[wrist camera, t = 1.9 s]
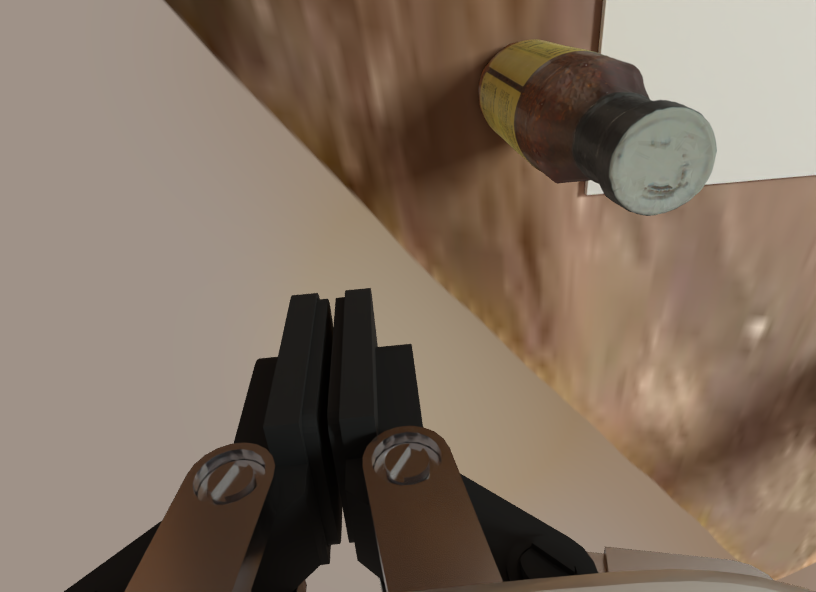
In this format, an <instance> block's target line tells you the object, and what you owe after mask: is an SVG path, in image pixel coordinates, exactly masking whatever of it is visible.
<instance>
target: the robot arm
mask: <svg viewBox="0 0 816 592" xmlns="http://www.w3.org/2000/svg"><path fill="white" fill-rule="evenodd" d="M374 320H375V319H374V312H373V302H372V294H371V288H366V289H356V290H346V291H345V297H342V298H336V303H335V316H334V328H333V322H332V316H331V309H330V303H329V300H328V299H320V298H319V295H318V293H313V294H303V295H292V296H291V300H290V304H289V308H288V313H287V318H286V322H285V327H284V332H283V336H282V341H281V346H280V350H279V355H278V357H271V358H262V359H258V360H257V361H256V364H255V367H254V371H253V374H252V378H251V381H250V385H249V389H248V392H247V396H246V400H245V403H244V407H243V411H242V415H241V418H240V422H239V426H238V429H237V433H236V437H235V441H234V444H229V445H226V446H223V447H220V448H217V449H215V450H214V451H212V452H210V453H208V454H206V455H205V456H204V457H202V458H201V459H200V460H199V461H198V462H196V463H195V464H194V465H193V467H192V468H191V470H190V471H189V472H188V474H187V475H186V477H185V479H184V481H183V483H182V484H181V486H180V488H179V490H178V492H177V494H176V496H175V498H174V499H173V501H172V503H171V505H170V507H169V509H168V511H167V513H166V515H165V516H164V518H163V520H162V521H161V522H159V523H158V524H157V525H155V526H154V527H152V528H151V529H150V530H148V531H147V532H146V533H144V534H143V535H142V536H140V537H139V538H137V539H136V540H135V541H133V542H132V543H130V544H129V545H128V546H126V547H125V548H123V549H122V550H121V551H119V552H118V553H117V554H115V555H114V556H112V557H111V558H110V559H108V560H107V561H106V562H104V563H103V564H101V565H100V566H99V567H97V568H96V569H94V570H93V571H92V572H91V573H89V574H88V575H86V576H85V577H83V578H82V579H81V580H79V581H78V582H77V583H75V584H74V585H73V586H71V587H70V588H68V589H67V590H66V591H64V592H306V587H307V584H306V581H305V579H306V578H307V577H308V576H309V575H310V574H311V573H313V572H314V571H315V570H316V569H317V568H318V566H320V565H324V564H329V563H330V549H331V545H333V544H340V543H341V530H342V507H343V512H344V518H345V523H346V528H347V534H348V539H349V542H350V543H352V542H354V543H355V548H356V554H357V559H358V561H359V562H360V563H362V564H363V565H364V566H365V567H367V568H368V569H369V570H370V571H372V572H373V573H374V574H375V575H377V576H378V577H379V578H380V585H381V590H382V592H815V591H812V590H809V589H806V588H803V587H799V586H795V585H791V584H787V583H783V582H779V581H775V580H773V579H772V578H771V577H770V576H769V575H767V574H766V573H764V572H762V571H760V570H758V569H756V568H755V567H753V566H751V565H749V564H745V563H741V562H737V561H733V560H727V559H716V558H708V557H698V556H689V555H679V554H669V553H660V552H651V551H640V550H632V549H621V548H612V547H605V550H604V554H602V553H592V552H586V551H585V549H584V548H583V547H581V546H580V545H579V544H578V543H576V542H575V541H574V540H572V539H571V538H569V537H568V536H566V535H564V534H563V533H561V532H559V531H557V530H556V529H554V528H552V527H551V526H549V525H547V524H545V523H544V522H542V521H540V520H539V519H537V518H535V517H533V516H532V515H530V514H528V513H527V512H525V511H523V510H522V509H520V508H518V507H516V506H515V505H513V504H511V503H510V502H508V501H506V500H504V499H503V498H501V497H499V496H497V495H496V494H494V493H492V492H491V491H489V490H487V489H486V488H484V487H482V486H481V485H479V484H477V483H475V482H474V481H472V480H470V479H469V478H467V477H465V476H463V475H462V474H460V473H459V470H458V468H457V465H456V463H455V460H454V458H453V455H452V453H451V450H450V448H449V446H448V445H447V443H446V442H445V440H444V439H443V438H442V437H441V436H439V435H438V434H437V433H436V432H434V431H431V430H429V429H426V428H424V427H423V424H422V417H421V409H420V402H419V395H418V387H417V380H416V374H415V366H414V358H413V351H412V345H411V344H405V345H395V346H385V347H378V346H377V337H376V329H375V321H374Z"/></svg>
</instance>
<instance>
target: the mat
mask: <svg viewBox="0 0 816 592" xmlns="http://www.w3.org/2000/svg"><path fill="white" fill-rule="evenodd" d="M598 53H600V54H602V55H605V56H606V55H607V56H609V57H611V58H615V59H617V60H620V61H623V62H627V63H630V64H633V65H634V66H636V67H637V68H638V69H639V70H640V72H641V74H642V76H643V81H644V86H645V89H646V92H647V94H648V96H649V98H650V100H652V101H656V100H668V101H672V102H677V103H679V104H682V105H685V106H687V107H689V108H692V109H693V110H695V111H698V112H700V113H701V114H702V115H703V116H704V118H705V119H706V120H707V121H708V122H709V123H710V125H711V127H712V129H713V132H714V135H715V139H716V147H717V152H716V157H715V162H714V166H713V170H712V173H711V175H710V177H709V179H708V181H707V182H706V184H705V185H707V184H719V183H730V182H741V181H753V180H764V179H775V178H787V177H798V176H809V175H816V0H603V8H602V18H601V28H600V38H599V49H598ZM585 194H586V195H594V194H604V193H603V191H602V189H601V187H600V185H599V184H598V183H595V182H593V181H592V180H589V181H586V182H585Z"/></svg>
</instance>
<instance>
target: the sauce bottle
mask: <svg viewBox="0 0 816 592" xmlns="http://www.w3.org/2000/svg"><path fill="white" fill-rule="evenodd" d="M478 91H479V103H480V105H479V106H480V109H481V112H482V114H483V115H484V117H485V119H486V121H487V122H488V124H489V125H490V127H491V128H492V129H493V130H494V131H495V132H496V133H497V134H498V135H499V136H500V137H502V138H503V139H504V140H505V141H506V142H507V143H508V144H509V145H510V146H511V147H512V148H513V149H514V150H515V151H516V152H518V153H519V154H520V155H521V156H522V157H523V158H524V159H526V160H527V161H528V162H529V163H530V164H531V165H532V166H533V167H535V168H536V169H538V170H539V171H541V172H543V173H544V174H545V175H546V176H548V177H549V178H550V179H551V180H553V181H554V182H555V183H565V182H577V181H589V180H592V181H593V182H595V183H598V184H599V185H600V187H601V189H602V191H603V193H604V194H605V196H606V197H608V198H609V199H610V200H611V201H613V202H615V203H616V204H618V205H620V206H621V207H623V208H624V209H626V210H628V211H629V212H634V213H636V214H640V215H646V216H651V215H657V214H661V213H666V212H668V211H671V210H673V209H676V208H678V207H679V206H681V205H683V204H685V203H686V202H688V201H690V200H691V199H692V198H693V197H694V196H695V195H696V194H697V193H698V192H700V190H701V189H702V188H703V186H704V185H705V184H706V182H707V181H708V179H709V177H710V175H711V173H712V170H713V166H714V162H715V157H716V152H717V147H716V139H715V135H714V132H713V129H712V127H711V125H710V123H709V122H708V121H707V120H706V119H705V118H704V116H703V115H702V114H701V113H700V112H698V111H695V110H693V109H692V108H689V107H687V106H685V105H682V104H679V103H677V102H672V101H668V100H656V101H652V100H650V98H649V96H648V94H647V92H646V89H645V86H644V81H643V76H642V74H641V72H640V70H639V69H638V68H637V67H636V66H634V65H633V64H630V63H627V62H623V61H620V60H617V59H615V58H611V57H609V56H607V55H606V56H605V55H602V54H600V53H597V52H593V51H588V50H584V49H578V48H573V47H568V46H563V45H559V44H555V43H551V42H546V41H542V40H526V41H521V42H516V43H511V44H509V45H508V46H507V47H505V48H504V49H502V50H501V51H499V52H498V53H497V54H496V55H495V56H494V57H493V58H492V59H491V60H490V62H489V63H488V64H487V65H486V67H485V68H484V70H483V71H482V75H481V78H480V81H479V88H478Z"/></svg>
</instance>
